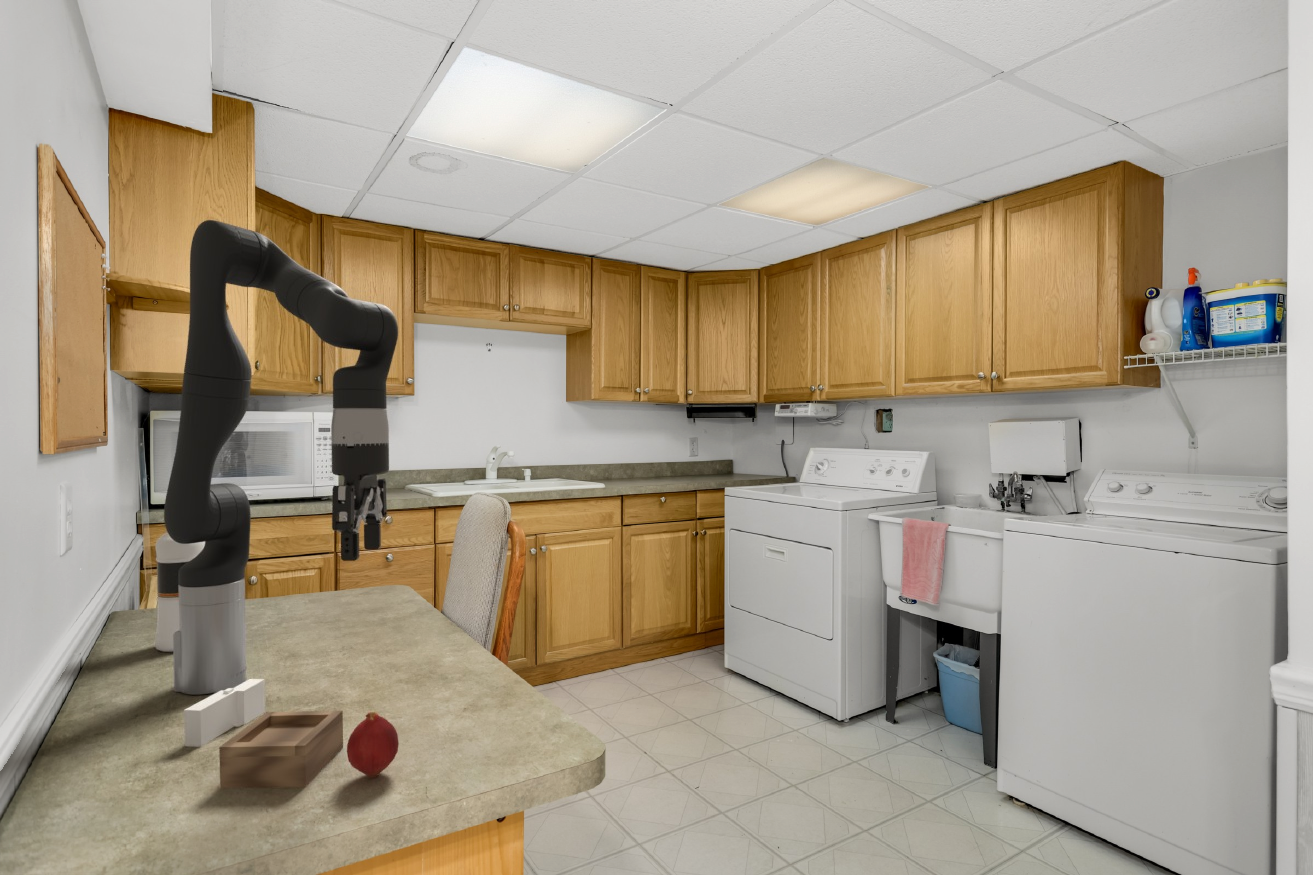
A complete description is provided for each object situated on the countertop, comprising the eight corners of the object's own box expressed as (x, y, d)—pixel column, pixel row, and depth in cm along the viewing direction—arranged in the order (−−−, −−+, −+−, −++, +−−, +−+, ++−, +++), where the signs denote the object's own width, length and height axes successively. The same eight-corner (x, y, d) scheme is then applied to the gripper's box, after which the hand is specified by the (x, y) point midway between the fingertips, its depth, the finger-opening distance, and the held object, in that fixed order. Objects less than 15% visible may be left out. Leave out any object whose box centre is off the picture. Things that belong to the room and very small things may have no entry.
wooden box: (220, 791, 81) (219, 747, 81) (267, 751, 91) (266, 711, 91) (305, 789, 81) (305, 745, 81) (343, 749, 91) (342, 710, 91)
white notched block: (180, 762, 89) (179, 718, 88) (159, 735, 96) (159, 694, 96) (303, 724, 99) (303, 685, 99) (276, 703, 107) (275, 667, 107)
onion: (357, 765, 86) (356, 701, 86) (404, 763, 87) (403, 699, 86) (340, 789, 80) (338, 721, 80) (390, 787, 81) (389, 719, 81)
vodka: (170, 656, 129) (167, 496, 129) (144, 648, 134) (141, 494, 133) (221, 642, 137) (218, 492, 137) (195, 636, 142) (193, 490, 141)
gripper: (352, 440, 105) (354, 546, 105) (311, 442, 91) (312, 564, 91) (403, 440, 105) (404, 545, 106) (369, 441, 91) (370, 564, 91)
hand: (361, 554), depth 98 cm, fingers open, 8 cm apart
